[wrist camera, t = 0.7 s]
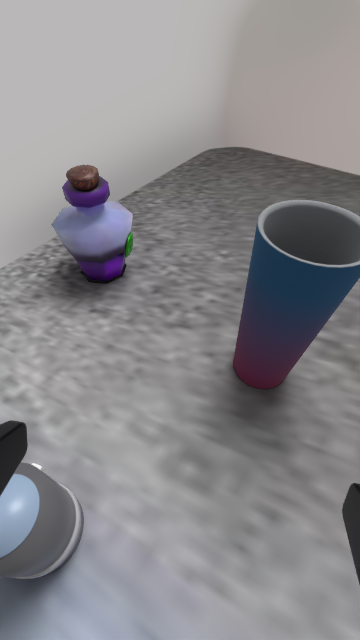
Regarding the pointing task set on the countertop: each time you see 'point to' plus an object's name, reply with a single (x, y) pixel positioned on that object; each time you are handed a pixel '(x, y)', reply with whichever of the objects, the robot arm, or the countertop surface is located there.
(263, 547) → the countertop surface
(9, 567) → the lens
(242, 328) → the cup
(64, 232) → the potion bottle
